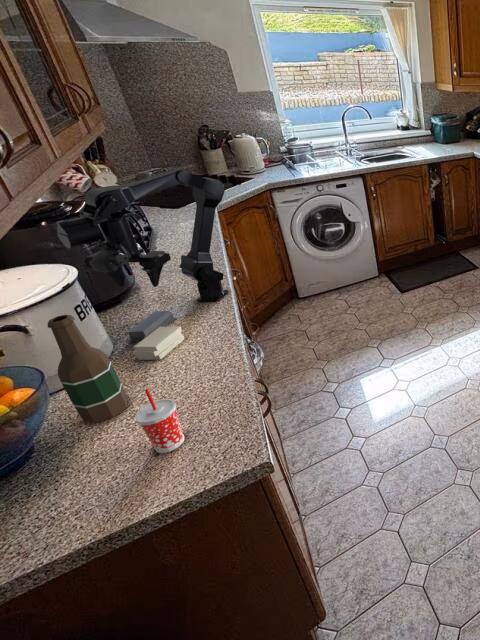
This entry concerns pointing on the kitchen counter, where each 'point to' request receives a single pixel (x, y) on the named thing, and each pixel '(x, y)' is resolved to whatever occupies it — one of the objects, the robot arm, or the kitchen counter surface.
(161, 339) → the white book
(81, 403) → the beer bottle
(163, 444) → the beverage cup
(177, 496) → the kitchen counter surface
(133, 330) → the dark grey rectangular block
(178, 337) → the cream flat block
